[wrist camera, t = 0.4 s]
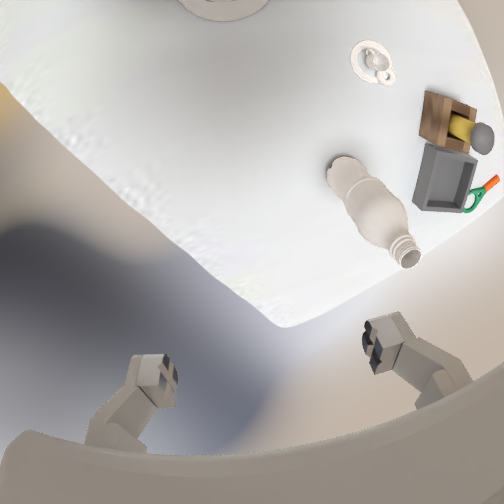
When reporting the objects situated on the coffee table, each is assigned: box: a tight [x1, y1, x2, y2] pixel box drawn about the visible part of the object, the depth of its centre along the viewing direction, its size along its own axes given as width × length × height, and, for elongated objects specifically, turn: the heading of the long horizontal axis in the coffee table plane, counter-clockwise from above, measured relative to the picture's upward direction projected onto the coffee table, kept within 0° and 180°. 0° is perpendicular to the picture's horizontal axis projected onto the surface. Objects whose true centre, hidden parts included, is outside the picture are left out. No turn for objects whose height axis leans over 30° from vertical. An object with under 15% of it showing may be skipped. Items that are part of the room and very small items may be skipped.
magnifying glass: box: [463, 175, 500, 213], centre depth 49 cm, size 15×6×2 cm, turn 131°
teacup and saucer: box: [350, 40, 396, 86], centre depth 33 cm, size 9×8×4 cm
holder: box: [419, 91, 477, 153], centre depth 37 cm, size 9×9×6 cm
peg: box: [447, 113, 494, 155], centre depth 34 cm, size 5×5×14 cm
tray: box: [412, 144, 478, 213], centre depth 45 cm, size 13×13×4 cm
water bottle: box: [327, 157, 422, 269], centre depth 37 cm, size 7×7×25 cm
